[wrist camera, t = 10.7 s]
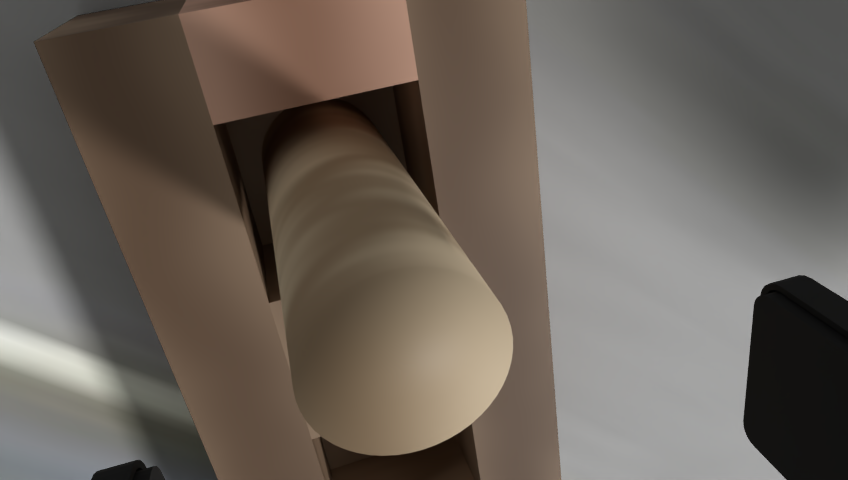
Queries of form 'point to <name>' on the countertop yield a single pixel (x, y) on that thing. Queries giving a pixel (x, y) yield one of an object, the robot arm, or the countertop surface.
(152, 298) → the bore block
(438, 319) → the pin
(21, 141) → the countertop surface
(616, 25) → the countertop surface
